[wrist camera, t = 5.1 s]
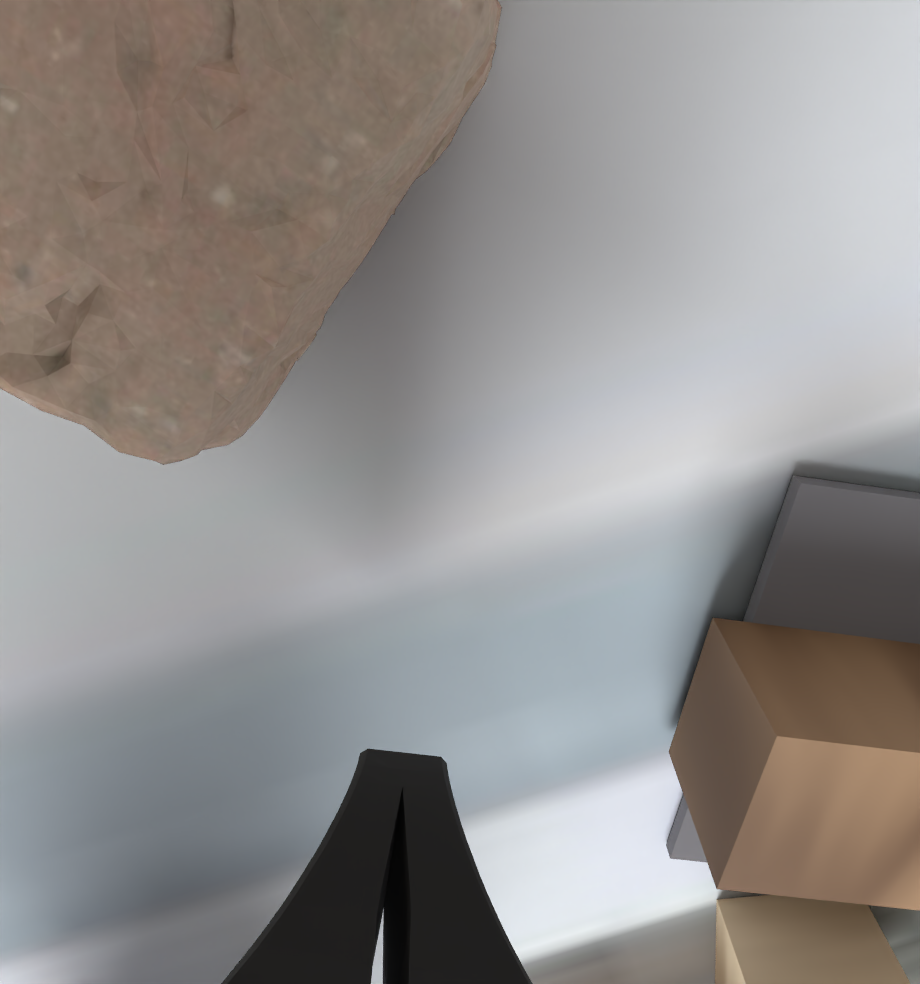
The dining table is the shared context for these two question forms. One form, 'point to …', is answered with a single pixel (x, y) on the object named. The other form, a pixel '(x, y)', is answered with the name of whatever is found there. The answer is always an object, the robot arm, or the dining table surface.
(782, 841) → the walnut block
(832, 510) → the mat
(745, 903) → the oak block
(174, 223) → the brick
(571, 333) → the dining table surface
